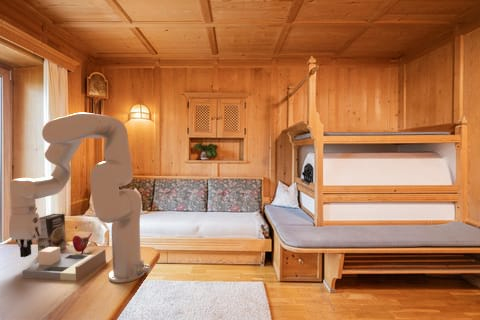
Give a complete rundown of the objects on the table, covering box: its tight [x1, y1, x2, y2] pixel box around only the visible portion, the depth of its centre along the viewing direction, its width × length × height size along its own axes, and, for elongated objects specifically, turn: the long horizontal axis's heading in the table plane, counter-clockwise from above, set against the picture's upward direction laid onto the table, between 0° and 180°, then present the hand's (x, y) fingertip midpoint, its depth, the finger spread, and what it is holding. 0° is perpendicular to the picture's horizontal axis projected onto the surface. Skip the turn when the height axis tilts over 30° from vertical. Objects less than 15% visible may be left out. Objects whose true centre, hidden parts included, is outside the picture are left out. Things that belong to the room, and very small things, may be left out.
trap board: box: [22, 249, 107, 281], centre depth 106 cm, size 22×16×5 cm
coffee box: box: [37, 213, 67, 253], centre depth 124 cm, size 9×6×16 cm
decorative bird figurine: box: [72, 232, 93, 254], centre depth 121 cm, size 3×18×10 cm, turn 5°
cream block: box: [37, 247, 62, 265], centre depth 107 cm, size 5×5×5 cm
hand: (25, 255), depth 108 cm, fingers closed
